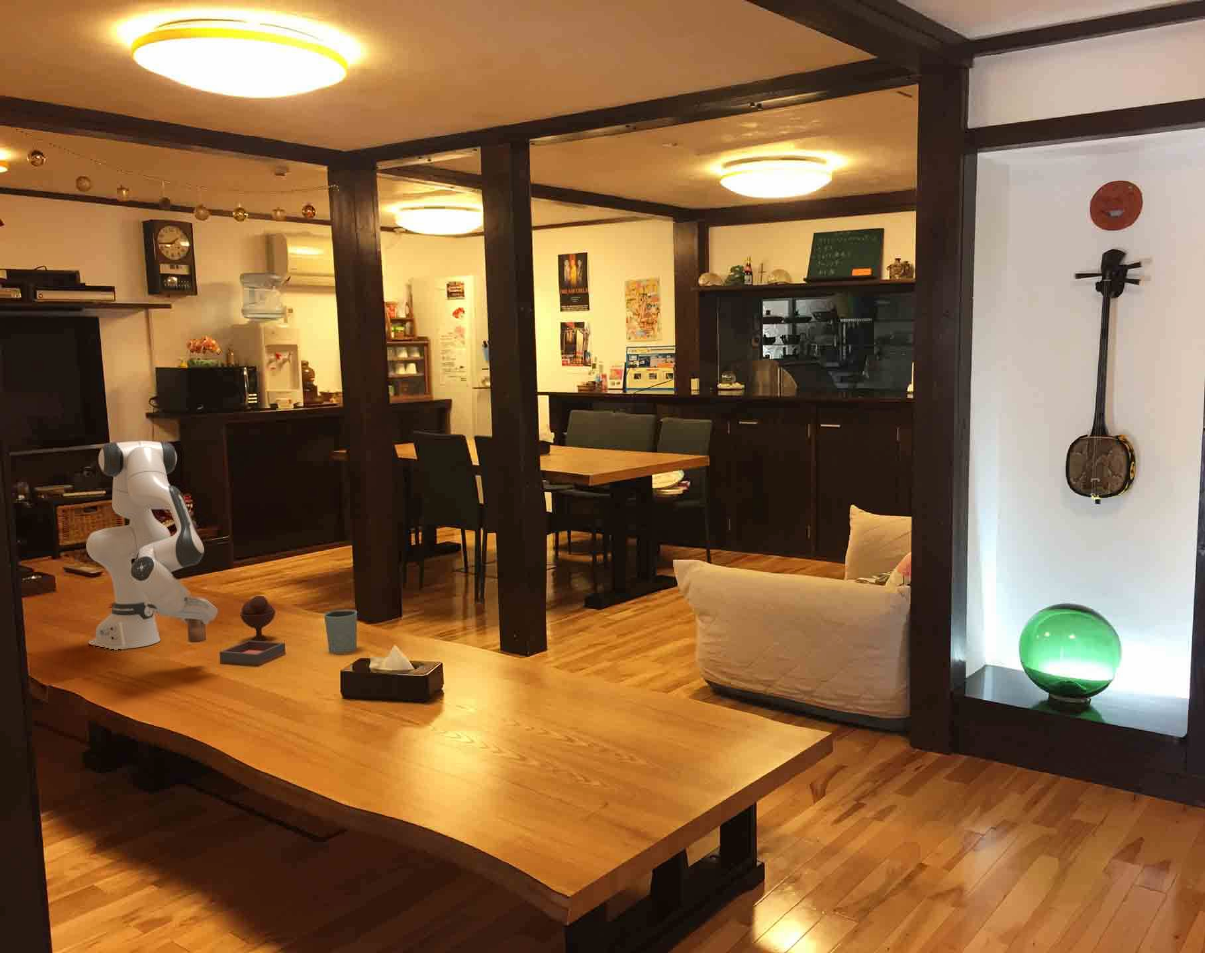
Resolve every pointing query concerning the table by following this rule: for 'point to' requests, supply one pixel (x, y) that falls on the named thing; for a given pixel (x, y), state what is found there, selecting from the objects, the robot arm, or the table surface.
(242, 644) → the lacquer tray
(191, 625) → the tea canister
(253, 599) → the ice cream bowl
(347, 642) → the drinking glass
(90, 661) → the table surface
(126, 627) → the robot arm
